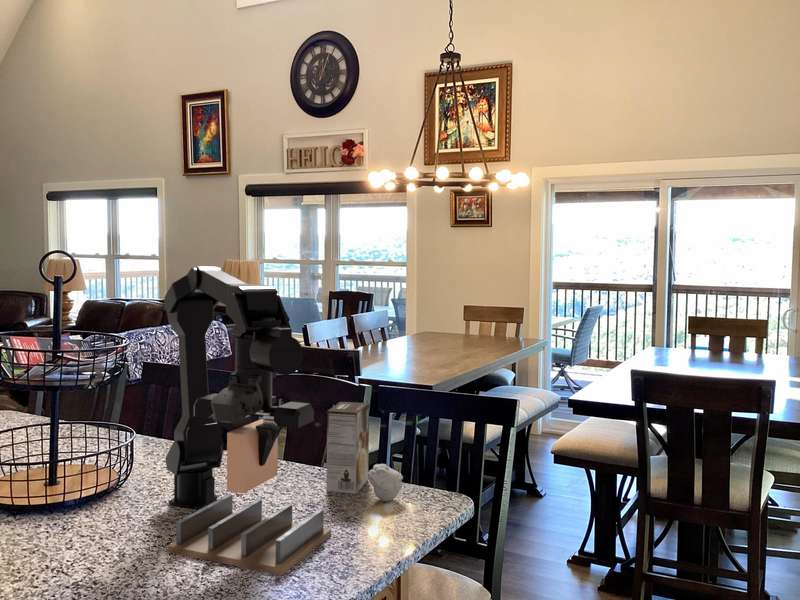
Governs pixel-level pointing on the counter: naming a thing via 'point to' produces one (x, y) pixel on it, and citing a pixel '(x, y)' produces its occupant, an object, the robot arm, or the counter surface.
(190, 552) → the rack base
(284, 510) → the rack dividers
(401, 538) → the counter surface
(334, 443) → the coffee box
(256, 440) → the peach rectangular block
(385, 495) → the white rounded lump
